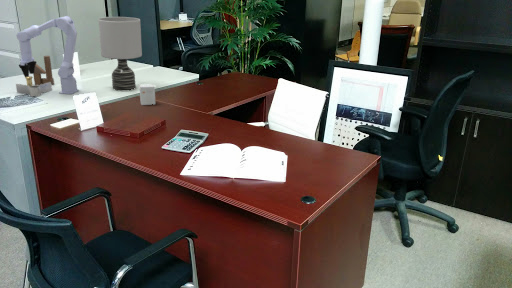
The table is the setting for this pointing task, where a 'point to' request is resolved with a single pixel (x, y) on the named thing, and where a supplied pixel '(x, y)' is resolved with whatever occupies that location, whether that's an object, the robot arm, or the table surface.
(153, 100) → the small box
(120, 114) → the table surface
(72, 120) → the table surface
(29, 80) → the hinge pin
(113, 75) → the lamp
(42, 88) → the steel hinge
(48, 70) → the brown wooden frame
